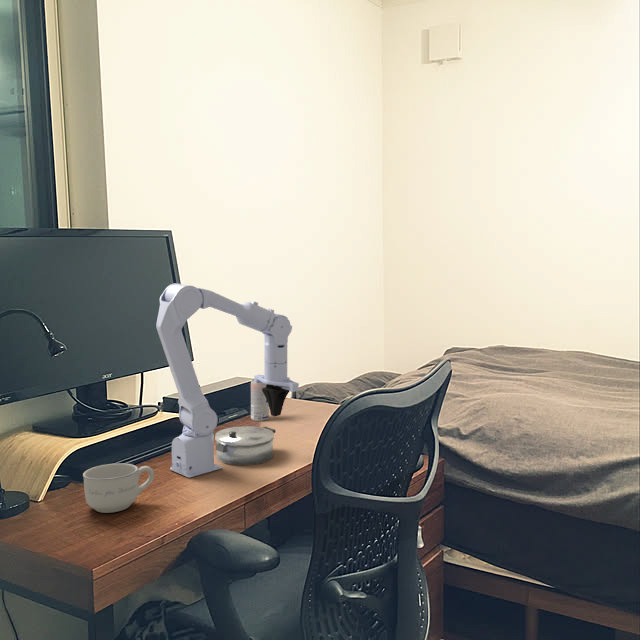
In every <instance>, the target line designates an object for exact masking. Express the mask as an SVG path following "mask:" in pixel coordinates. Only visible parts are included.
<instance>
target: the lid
mask: <svg viewBox="0 0 640 640" xmlns="http://www.w3.org/2000/svg"><path fill="white" fill-rule="evenodd" d="M275 433H276V429H275V428H270V427H267V426H263V427H260V426H253V425H252V426H247V425H245V426H232V427H227V428H224V429H221V430H218V431H217V432H216V433H215V434H214V441H216V443H217V442H218V443H220V444H223V445H227V446H235V447H250V446H258V445H263V444H266V443H269V442H271V441H272V440H274V438H275Z"/></svg>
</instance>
